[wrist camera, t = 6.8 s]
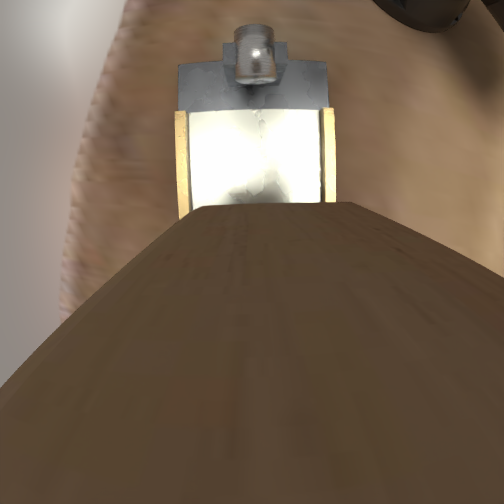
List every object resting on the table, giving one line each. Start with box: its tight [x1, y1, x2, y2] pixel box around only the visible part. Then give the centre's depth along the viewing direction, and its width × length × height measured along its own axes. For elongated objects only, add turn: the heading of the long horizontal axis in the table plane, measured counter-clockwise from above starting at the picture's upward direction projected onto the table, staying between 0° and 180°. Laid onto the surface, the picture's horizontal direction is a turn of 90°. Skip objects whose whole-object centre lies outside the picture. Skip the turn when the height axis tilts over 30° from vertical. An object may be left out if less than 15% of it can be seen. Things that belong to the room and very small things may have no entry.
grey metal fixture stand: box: [175, 24, 336, 220], centre depth 26 cm, size 22×15×10 cm
